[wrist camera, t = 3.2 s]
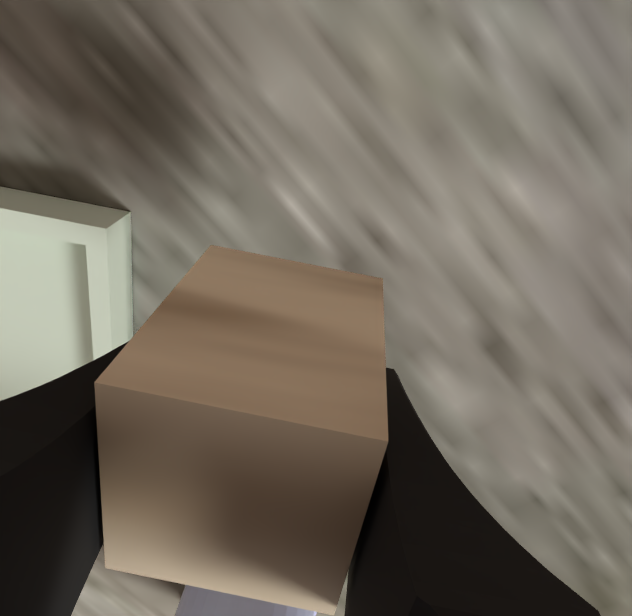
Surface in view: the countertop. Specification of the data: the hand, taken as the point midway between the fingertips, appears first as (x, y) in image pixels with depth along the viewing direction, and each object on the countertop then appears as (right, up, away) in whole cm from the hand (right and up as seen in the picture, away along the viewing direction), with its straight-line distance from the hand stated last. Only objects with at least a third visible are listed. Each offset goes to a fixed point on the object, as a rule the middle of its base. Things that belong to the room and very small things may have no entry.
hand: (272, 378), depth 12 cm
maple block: (0, +1, +1) cm, 2 cm away
